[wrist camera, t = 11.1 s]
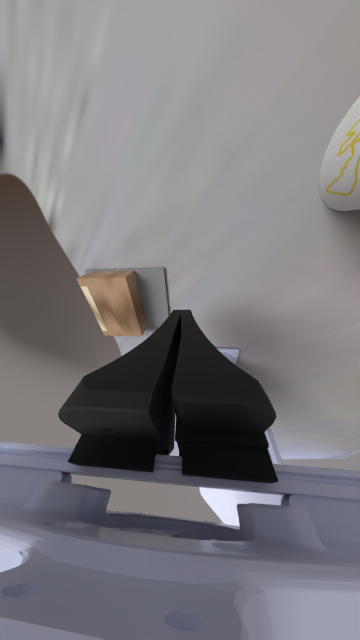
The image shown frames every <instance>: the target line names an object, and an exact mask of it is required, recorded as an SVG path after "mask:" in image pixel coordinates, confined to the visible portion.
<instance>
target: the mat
mask: <svg viewBox="0 0 360 640" xmlns="http://www.w3.org/2000/svg"><path fill="white" fill-rule="evenodd" d="M102 271H135V275H136V280H137V284H138V288H139V293H140V297H141V301H142V305H143V310H144V314H145V318H146V323H147V325H146V327H145V328H159V327H160V326H161V325H162V324H163V322H164V321H165V320H166V319H167V318H168V316H169V310H168V300H167V291H166V281H165V271H164V268H127V269H88V270H85V272H86V274H88V273H90V272H102Z"/></svg>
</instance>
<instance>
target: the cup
mask: <svg viewBox="0 0 360 640" xmlns="http://www.w3.org/2000/svg"><path fill="white" fill-rule="evenodd" d="M319 192H320V196H321V198H322V200H323V202H324V203H325V205H327V206H328V207H329V208H331V209H333V210H336V211H351V210H359V209H360V97H359V98H358V99H357V100H356V102H355V103H354V104H353V105H352V107H351V108H350V109H349V111H348V112H347V113H346V115H345V116H344V118H343V119H342V121H341V123H340V124H339V126H338V128H337V129H336V131H335V133H334V135H333V137H332V139H331V141H330V143H329V145H328V147H327V150H326V152H325V155H324V158H323V161H322V164H321V168H320V174H319Z"/></svg>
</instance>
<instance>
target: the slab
mask: <svg viewBox="0 0 360 640" xmlns="http://www.w3.org/2000/svg"><path fill="white" fill-rule="evenodd" d="M77 280H78V283H79V285H80V287H81V289H82V291H83V293H84V295H85V297H86V299H87V301H88V303H89V305H90V307H91V309H92V311H93V313H94V315H95V317H96V319H97V321H98V323H99V325H100V327H101V329H102V331H103V333H104V335H106V336H109V335H110V336H142V334H143V332H144V330H145V327H146V325H147V323H146V318H145V314H144V310H143V305H142V301H141V297H140V293H139V288H138V284H137V280H136V275H135V271H102V272H90V273H88V274H86V275H83V276H81V277H79V278H77Z"/></svg>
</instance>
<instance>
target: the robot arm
mask: <svg viewBox="0 0 360 640" xmlns="http://www.w3.org/2000/svg"><path fill="white" fill-rule="evenodd" d="M239 352H240V351H239V349H228V348H216V347H215V346H214V345H213V344H212V343H211V342H210V341H209V340H208V339H207V337H206V336H205V335H204V334H203V332H202V331H201V329H200V328H199V326H198V325H197V323H196V321H195V319H194V317H193V315H192V312H191V310H173V311H172V312H171V314H170V315H169V316H168V318H167V319H166V320H165V321H164V322H163V324H162V325H161V326H160V327H159V328H158V329H157V330H156V331H155V332H154V333H153V334H152V335H151V336H150V337H148V338H147V339H146V340H145V341H144V342H142V343H141V344H139V345H138V346H137V347H135V348H134V349H132V350H131V351H129V352H128V353H126V354H125V355H123V356H122V357H120V358H118V359H116V360H115V361H113V362H111V363H109V364H108V365H105V366H104V367H102V368H100V369H98V370H96V371H94V372H92V373H90V374H88V375H86V376H84V377H83V379H82V380H81V382H80V383H79V384H78V385H77V387H76V388H75V390H74V391H73V392H72V394H71V395H70V396H69V398H68V399H67V401H66V402H65V403H64V405H63V406H62V407H61V409H60V410H59V413H58V415H59V418H60V420H61V421H62V422H64V423H65V424H66V425H68V426H69V427H71V428H73V429H74V430H76V431H77V432H79V433H80V434H82V435H81V437H80V439H79V441H78V443H77V444H76V446H75V448H70V447H59V446H46V445H33V444H22V443H10V442H0V640H360V471H352V470H341V469H328V468H316V467H304V466H292V465H283V462H282V459H281V456H280V452H279V450H278V447H277V444H276V441H275V439H274V436H273V433H272V431H271V428H270V426H271V425H272V424H273V423H274V421H275V419H276V413H275V410H274V408H273V406H272V404H271V402H270V400H269V398H268V396H267V395H266V393H265V391H264V390H263V388H262V386H261V385H260V383H259V381H257V380H256V379H255V378H253V377H252V376H250V375H249V374H247V373H246V372H245V371H243V370H242V369H240V368H239V367H238V366H236V361H237V358H238V355H239ZM175 413H176V431H175ZM174 434H175V441H177V444H178V448H179V456H169V454H170V453H171V452H172V450H173V449H174ZM70 474H74V475H84V476H95V477H104V478H115V479H125V480H134V481H144V482H155V483H164V484H175V485H184V486H194V487H199V488H200V494H201V495H202V497H203V498H204V500H205V501H206V502H207V503H208V504H209V506H210V507H211V508H212V509H213V511H214V512H215V513H216V514H217V516H218V517H219V518H220V519H221V520H222V522H223V523H224V524H221V523H214V522H208V521H200V520H193V519H186V518H178V517H170V516H160V515H152V514H143V513H132V512H123V511H113V510H106V508H107V504H108V501H109V497H110V494H111V491H110V490H108V489H102V488H96V487H91V486H87V485H79V484H72V483H71V478H72V477H71V475H70Z"/></svg>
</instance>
